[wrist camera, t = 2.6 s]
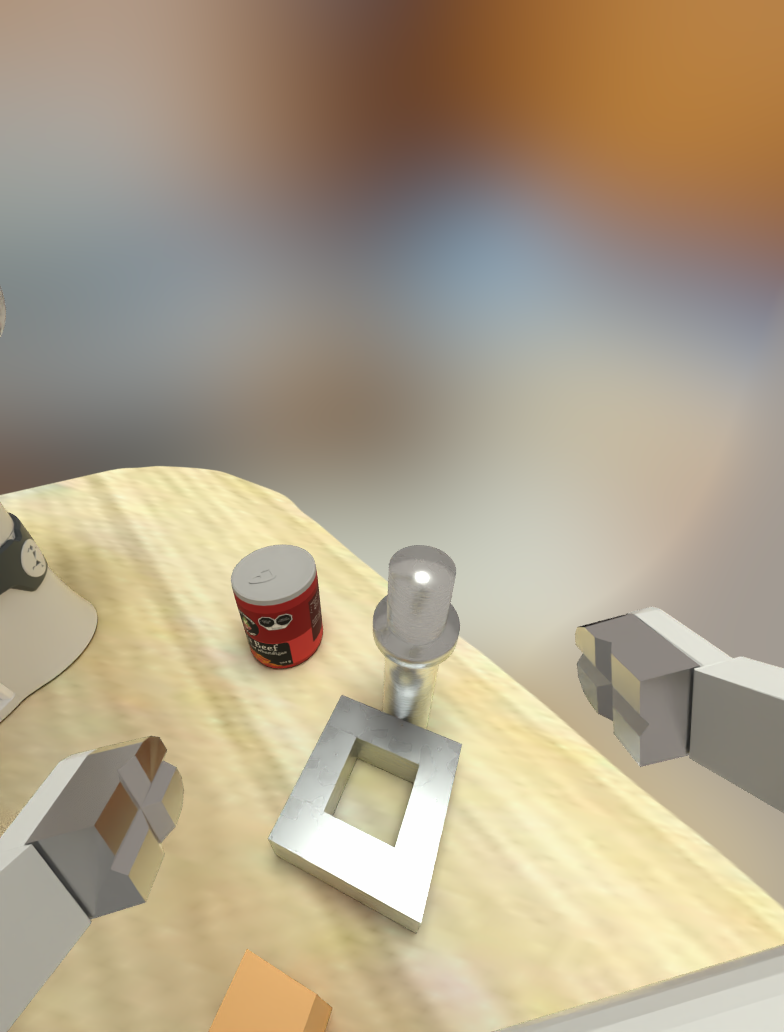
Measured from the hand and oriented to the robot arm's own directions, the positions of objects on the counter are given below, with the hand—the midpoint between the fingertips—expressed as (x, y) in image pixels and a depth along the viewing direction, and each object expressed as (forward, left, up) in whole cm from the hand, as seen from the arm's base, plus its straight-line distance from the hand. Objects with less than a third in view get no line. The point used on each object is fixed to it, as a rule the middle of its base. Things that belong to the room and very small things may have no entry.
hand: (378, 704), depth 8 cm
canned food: (-1, +25, -31) cm, 40 cm away
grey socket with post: (+5, +9, -31) cm, 32 cm away
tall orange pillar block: (-6, -2, -31) cm, 31 cm away
